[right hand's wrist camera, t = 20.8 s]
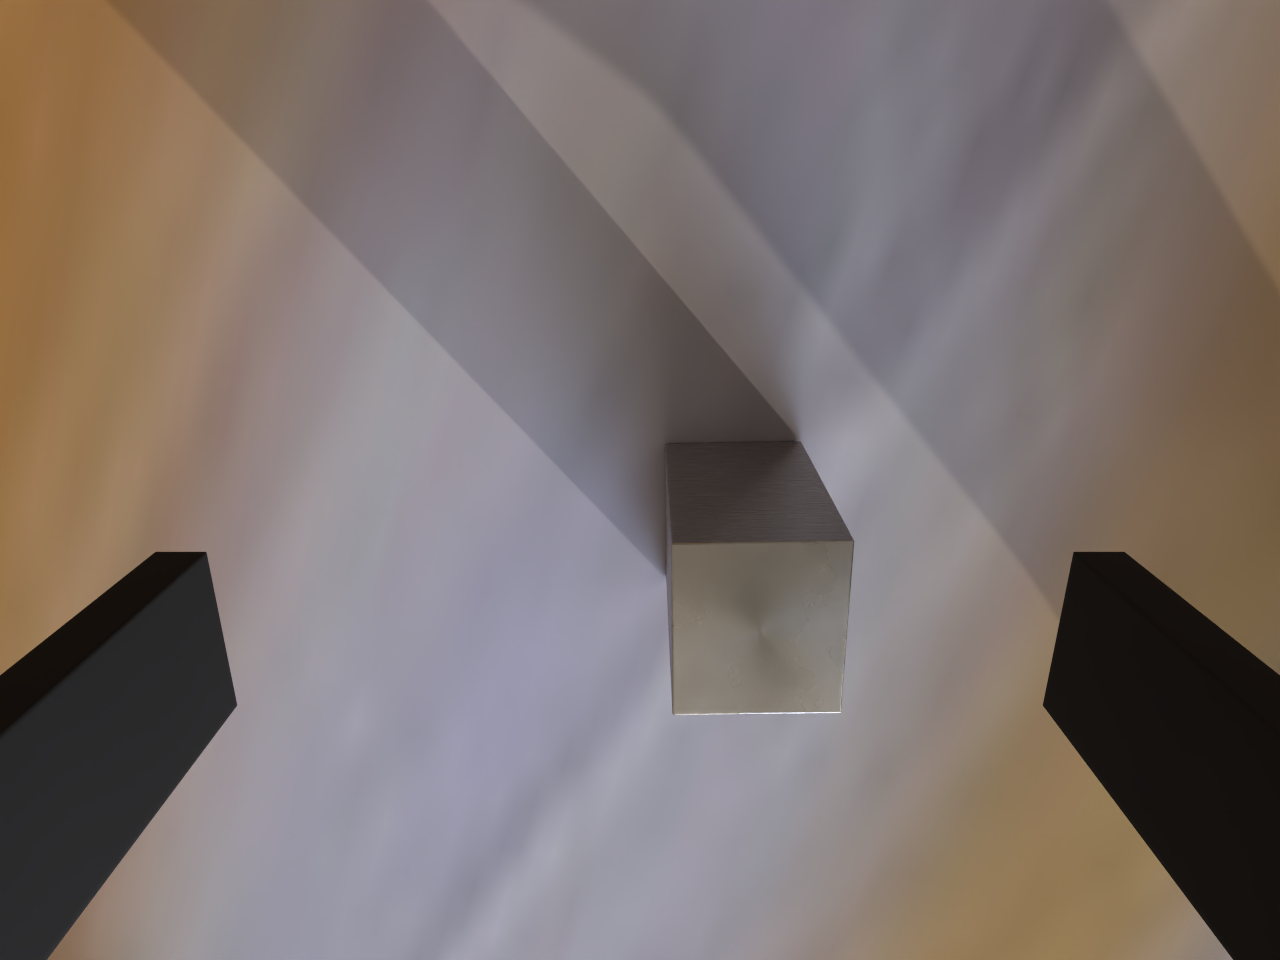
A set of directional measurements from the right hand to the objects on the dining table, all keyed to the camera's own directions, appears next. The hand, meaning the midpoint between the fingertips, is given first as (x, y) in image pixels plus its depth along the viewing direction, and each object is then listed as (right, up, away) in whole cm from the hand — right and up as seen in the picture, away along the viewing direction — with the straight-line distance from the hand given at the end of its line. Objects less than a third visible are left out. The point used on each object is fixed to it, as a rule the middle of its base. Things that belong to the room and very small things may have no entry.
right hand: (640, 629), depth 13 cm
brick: (+3, +1, +17) cm, 18 cm away
